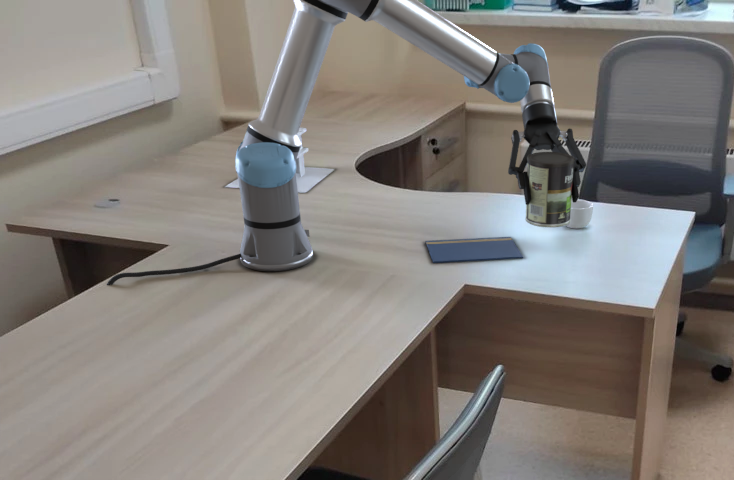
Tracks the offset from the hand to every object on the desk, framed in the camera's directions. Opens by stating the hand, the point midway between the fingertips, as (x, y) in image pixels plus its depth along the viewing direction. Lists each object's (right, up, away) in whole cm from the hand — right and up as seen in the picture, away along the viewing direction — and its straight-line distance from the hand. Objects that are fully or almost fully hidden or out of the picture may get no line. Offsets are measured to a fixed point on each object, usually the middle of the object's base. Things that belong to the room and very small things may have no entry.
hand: (552, 200), depth 184 cm
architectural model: (-73, +18, +51) cm, 91 cm away
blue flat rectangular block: (-18, -10, +5) cm, 21 cm away
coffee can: (-1, -3, +5) cm, 6 cm away
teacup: (+7, -1, +22) cm, 23 cm away
